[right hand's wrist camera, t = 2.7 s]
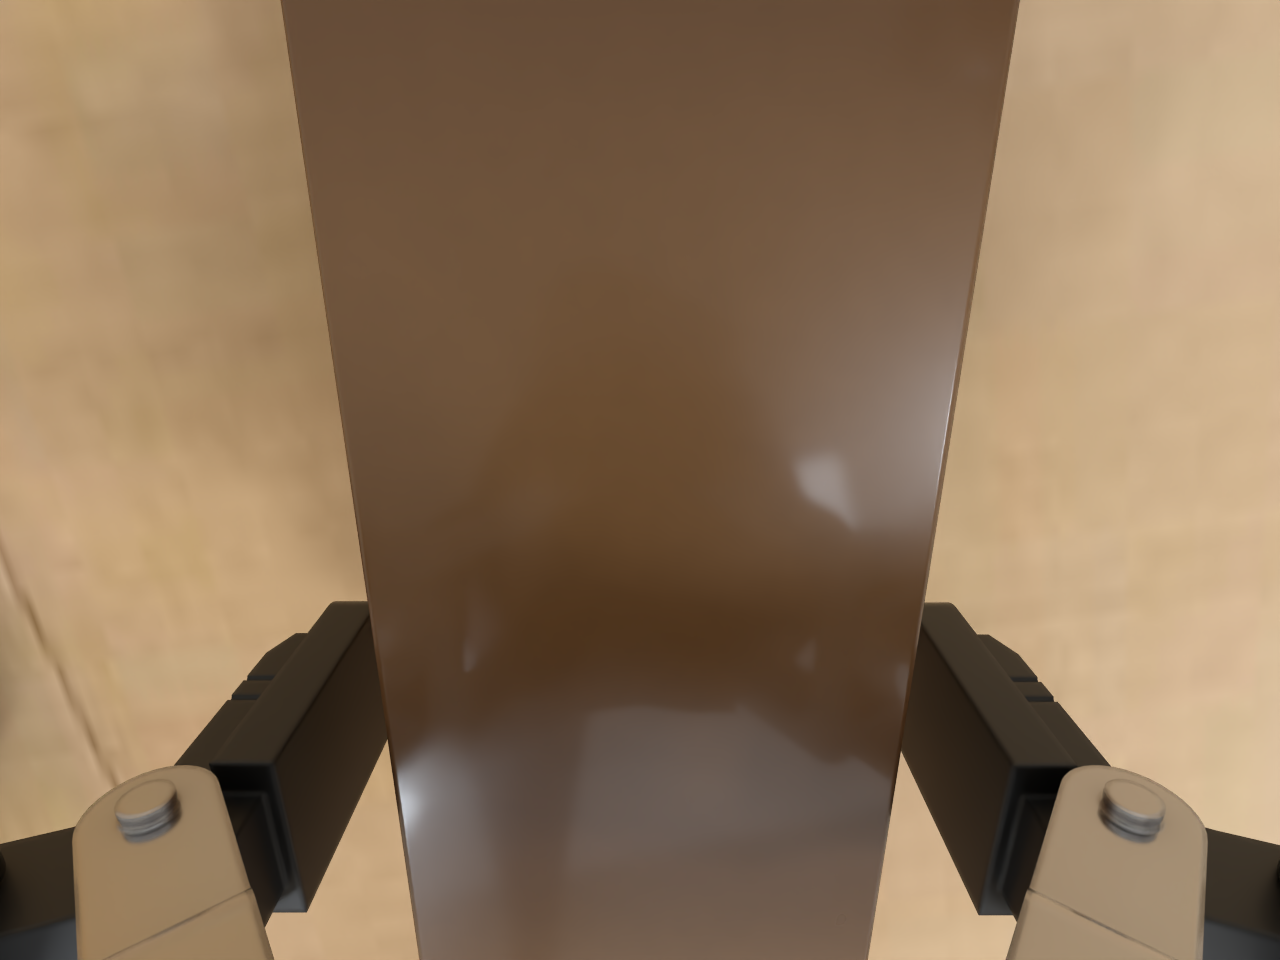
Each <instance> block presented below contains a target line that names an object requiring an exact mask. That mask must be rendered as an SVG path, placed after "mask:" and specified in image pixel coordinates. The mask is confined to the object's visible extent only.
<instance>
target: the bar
mask: <svg viewBox="0 0 1280 960" xmlns="http://www.w3.org/2000/svg"><path fill="white" fill-rule="evenodd" d="M1019 2H1020V0H281V5H282V12H283V19H284V26H285V33H286V40H287V47H288V54H289V60H290V67H291V74H292V81H293V88H294V95H295V102H296V109H297V116H298V123H299V130H300V137H301V143H302V150H303V157H304V164H305V171H306V178H307V185H308V192H309V199H310V206H311V213H312V219H313V226H314V233H315V240H316V247H317V254H318V261H319V268H320V275H321V282H322V289H323V296H324V302H325V309H326V316H327V323H328V330H329V337H330V344H331V351H332V358H333V365H334V372H335V379H336V385H337V392H338V399H339V406H340V413H341V420H342V427H343V434H344V441H345V448H346V455H347V462H348V468H349V475H350V482H351V489H352V496H353V503H354V510H355V517H356V524H357V531H358V538H359V545H360V551H361V558H362V565H363V572H364V579H365V586H366V593H367V600H368V607H369V614H370V621H371V628H372V634H373V641H374V648H375V655H376V662H377V669H378V676H379V683H380V690H381V697H382V704H383V710H384V717H385V724H386V731H387V738H388V745H389V752H390V759H391V766H392V773H393V780H394V787H395V793H396V800H397V807H398V814H399V821H400V828H401V835H402V842H403V849H404V856H405V863H406V870H407V876H408V883H409V890H410V897H411V904H412V911H413V918H414V925H415V932H416V939H417V946H418V953H419V959H420V960H868V955H869V948H870V942H871V936H872V929H873V923H874V917H875V910H876V904H877V898H878V891H879V885H880V879H881V873H882V866H883V860H884V854H885V847H886V841H887V835H888V828H889V822H890V816H891V809H892V803H893V797H894V791H895V784H896V778H897V772H898V765H899V759H900V753H901V746H902V740H903V734H904V727H905V721H906V715H907V708H908V702H909V696H910V690H911V683H912V677H913V671H914V664H915V658H916V652H917V645H918V639H919V633H920V626H921V620H922V614H923V607H924V601H925V595H926V589H927V582H928V576H929V570H930V563H931V557H932V551H933V544H934V538H935V532H936V525H937V519H938V513H939V506H940V500H941V494H942V488H943V481H944V475H945V469H946V462H947V456H948V450H949V443H950V437H951V431H952V424H953V418H954V412H955V406H956V399H957V393H958V387H959V380H960V374H961V368H962V361H963V355H964V349H965V342H966V336H967V330H968V323H969V317H970V311H971V305H972V298H973V292H974V286H975V279H976V273H977V267H978V260H979V254H980V248H981V241H982V235H983V229H984V222H985V216H986V210H987V204H988V197H989V191H990V185H991V178H992V172H993V166H994V159H995V153H996V147H997V140H998V134H999V128H1000V121H1001V115H1002V109H1003V103H1004V96H1005V90H1006V84H1007V77H1008V71H1009V65H1010V58H1011V52H1012V46H1013V39H1014V33H1015V27H1016V20H1017V14H1018V8H1019Z"/></svg>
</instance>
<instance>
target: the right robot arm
mask: <svg viewBox="0 0 1280 960" xmlns="http://www.w3.org/2000/svg"><path fill="white" fill-rule="evenodd" d="M247 677H248V678H247V681H243V682H242V683H241V684H240V686H239V687H238V688H237V689H236V690H235V692H234V693H233V694H232V699H231V700H227V701H226V703H225V704H224V705H223V706H222V708H221V709H220V710H219V711H218V712H217V714H216V715H215V716H214V717H213V719H212V720H211V721H210V722H209V723H208V725H207V726H206V727H205V728H204V729H203V731H202V732H201V733H200V734H199V736H198V737H197V738H196V739H195V740H194V742H193V743H192V744H191V745H190V747H189V748H188V749H187V750H186V751H185V753H184V754H183V755H182V756H181V758H180V759H179V760H178V761H177V762H176V764H175V765H174V766H170V767H164V768H160V769H156V770H153V771H150V772H147V773H144V774H141V775H139V776H136V777H134V778H132V779H129V780H128V781H126V782H124V783H122V784H120V785H118V786H117V787H115V788H113V789H112V790H110V791H109V792H107V793H106V794H105V795H103V796H102V797H101V798H99V799H98V800H97V801H96V802H95V803H94V804H93V805H91V806H90V807H89V808H88V810H87V811H86V812H85V813H84V814H83V815H82V817H81V818H80V820H79V821H78V823H77V825H76V827H72V828H68V829H63V830H59V831H55V832H51V833H46V834H42V835H38V836H33V837H29V838H25V839H20V840H16V841H12V842H7V843H3V844H0V960H274V958H273V954H272V951H271V948H270V944H269V941H268V938H267V934H266V931H265V926H266V924H267V922H268V920H269V918H270V916H271V914H272V912H307V911H308V909H309V906H310V904H311V902H312V900H313V898H314V896H315V893H316V891H317V889H318V887H319V885H320V883H321V881H322V878H323V876H324V874H325V872H326V870H327V868H328V866H329V863H330V861H331V859H332V857H333V855H334V853H335V851H336V848H337V846H338V844H339V842H340V840H341V838H342V836H343V833H344V831H345V829H346V827H347V825H348V823H349V820H350V818H351V816H352V814H353V812H354V810H355V808H356V805H357V803H358V801H359V799H360V797H361V795H362V793H363V790H364V788H365V786H366V784H367V782H368V780H369V778H370V775H371V773H372V771H373V769H374V767H375V765H376V763H377V760H378V758H379V756H380V754H381V752H382V750H383V748H384V745H385V743H386V741H387V739H388V738H387V731H386V724H385V717H384V710H383V704H382V697H381V690H380V683H379V676H378V669H377V662H376V655H375V648H374V641H373V634H372V628H371V621H370V614H369V607H368V601H335V602H332V603H331V604H330V605H329V606H328V607H327V609H326V610H325V611H324V612H323V614H322V615H321V616H320V618H319V619H318V620H317V622H316V623H315V624H314V626H313V627H312V628H311V630H310V631H309V632H308V633H296V634H294V635H293V636H291V637H290V638H288V639H287V640H285V641H283V642H282V643H280V644H279V645H277V646H276V647H274V648H273V649H271V650H270V651H268V652H267V653H266V654H265V655H264V656H263V657H262V659H261V660H260V661H259V662H258V664H257V665H256V666H255V667H254V668H253V670H252V671H251V672H250V673H249V675H248V676H247ZM901 751H902V754H903V756H904V758H905V760H906V762H907V764H908V766H909V768H910V771H911V773H912V775H913V777H914V779H915V781H916V783H917V785H918V787H919V790H920V792H921V794H922V796H923V798H924V800H925V802H926V804H927V807H928V809H929V811H930V813H931V815H932V817H933V819H934V821H935V824H936V826H937V828H938V830H939V832H940V834H941V836H942V838H943V840H944V843H945V845H946V847H947V849H948V851H949V853H950V855H951V857H952V860H953V862H954V864H955V866H956V868H957V870H958V872H959V874H960V877H961V879H962V881H963V883H964V885H965V887H966V889H967V891H968V894H969V896H970V898H971V900H972V902H973V904H974V906H975V908H976V910H977V913H978V915H1013V916H1014V918H1015V919H1016V921H1017V924H1016V928H1015V931H1014V934H1013V938H1012V941H1011V944H1010V948H1009V951H1008V954H1007V957H1006V960H1280V845H1276V844H1272V843H1268V842H1263V841H1259V840H1255V839H1250V838H1246V837H1242V836H1237V835H1233V834H1229V833H1224V832H1220V831H1216V830H1212V829H1209V828H1205V827H1204V825H1203V823H1202V821H1201V820H1200V818H1199V817H1198V815H1197V814H1196V813H1195V812H1194V811H1193V810H1192V808H1191V807H1190V806H1189V805H1187V804H1186V803H1185V802H1184V801H1183V800H1182V799H1181V798H1179V797H1178V796H1177V795H1175V794H1174V793H1173V792H1171V791H1170V790H1168V789H1167V788H1165V787H1163V786H1162V785H1160V784H1158V783H1156V782H1154V781H1152V780H1151V779H1148V778H1146V777H1144V776H1141V775H1139V774H1136V773H1133V772H1130V771H1127V770H1124V769H1120V768H1116V767H1111V766H1110V765H1109V763H1108V762H1107V761H1106V760H1105V759H1104V757H1103V756H1102V755H1101V754H1100V753H1099V751H1098V750H1097V749H1096V748H1095V746H1094V745H1093V744H1092V743H1091V742H1090V740H1089V739H1088V738H1087V737H1086V736H1085V734H1084V733H1083V732H1082V731H1081V730H1080V728H1079V727H1078V726H1077V725H1076V723H1075V722H1074V721H1073V720H1072V719H1071V717H1070V716H1069V715H1068V714H1067V713H1066V711H1065V710H1064V709H1063V708H1062V707H1061V705H1060V704H1059V703H1058V702H1054V700H1053V696H1052V694H1051V693H1050V692H1049V691H1048V690H1047V688H1046V687H1045V686H1044V685H1043V684H1042V682H1038V680H1037V676H1036V675H1035V674H1034V673H1033V671H1032V670H1031V669H1030V668H1029V667H1028V665H1027V664H1026V663H1025V662H1024V661H1023V659H1022V658H1021V657H1020V656H1019V655H1018V654H1017V653H1015V652H1014V651H1012V650H1011V649H1009V648H1008V647H1006V646H1005V645H1003V644H1002V643H1000V642H999V641H997V640H996V639H994V638H993V637H991V636H990V635H977V634H976V633H975V632H974V630H973V629H972V628H971V626H970V625H969V624H968V622H967V621H966V620H965V619H964V617H963V616H962V615H961V613H960V612H959V611H958V609H957V608H956V607H955V606H954V605H953V604H951V603H924V607H923V614H922V620H921V626H920V633H919V639H918V645H917V652H916V658H915V664H914V671H913V677H912V683H911V690H910V696H909V702H908V708H907V715H906V721H905V727H904V734H903V740H902V746H901Z"/></svg>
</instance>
